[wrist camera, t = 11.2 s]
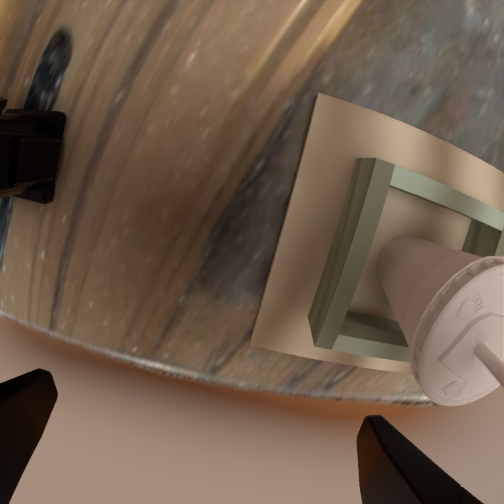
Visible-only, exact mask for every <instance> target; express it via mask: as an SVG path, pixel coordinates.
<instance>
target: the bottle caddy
mask: <svg viewBox="0 0 504 504" xmlns="http://www.w3.org/2000/svg"><path fill="white" fill-rule="evenodd" d="M404 235H407V236H412V237H416V238H419V239H423V240H426V241H430V242H433V243H437V244H440V245H443V246H447V247H450V248H453V249H457V250H460V251H463V252H466V253H470V254H473V255H477V256H480V257H486V256H504V173H503V172H501V171H500V170H498V169H496V168H494V167H493V166H491V165H489V164H487V163H486V162H484V161H482V160H480V159H478V158H477V157H475V156H473V155H471V154H469V153H467V152H465V151H463V150H461V149H459V148H457V147H455V146H453V145H451V144H449V143H447V142H445V141H443V140H441V139H439V138H437V137H435V136H433V135H430V134H428V133H426V132H424V131H422V130H419V129H417V128H415V127H412V126H410V125H408V124H405V123H403V122H400V121H398V120H396V119H393V118H391V117H388V116H385V115H383V114H380V113H378V112H375V111H372V110H369V109H367V108H364V107H361V106H358V105H355V104H352V103H349V102H346V101H343V100H340V99H337V98H334V97H331V96H328V95H324V94H321V93H318V94H317V96H316V99H315V103H314V107H313V110H312V114H311V118H310V122H309V126H308V130H307V134H306V138H305V142H304V145H303V149H302V153H301V157H300V161H299V165H298V168H297V172H296V176H295V180H294V183H293V187H292V191H291V195H290V198H289V202H288V206H287V209H286V213H285V217H284V220H283V224H282V228H281V231H280V235H279V238H278V242H277V246H276V249H275V253H274V256H273V260H272V264H271V267H270V271H269V274H268V278H267V281H266V285H265V288H264V292H263V295H262V299H261V302H260V306H259V309H258V313H257V316H256V320H255V323H254V326H253V330H252V333H251V337H250V344H249V345H250V346H254V347H258V348H263V349H267V350H272V351H277V352H281V353H286V354H291V355H296V356H301V357H306V358H311V359H317V360H322V361H327V362H333V363H339V364H345V365H351V366H357V367H364V368H370V369H377V370H384V371H392V372H400V373H408V374H413V373H412V371H411V368H410V348H409V346H408V344H407V341H406V338H405V336H404V334H403V332H402V329H401V327H400V325H399V322H398V320H397V318H396V316H395V314H394V311H393V309H392V307H391V305H390V303H389V301H388V298H387V296H386V294H385V292H384V290H383V288H382V286H381V284H380V282H379V280H378V277H377V274H376V262H377V258H378V255H379V253H380V251H381V250H382V248H383V247H384V246H385V245H386V244H387V243H388V242H389V241H390V240H392V239H394V238H396V237H399V236H404Z"/></svg>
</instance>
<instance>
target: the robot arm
mask: <svg viewBox="0 0 504 504" xmlns="http://www.w3.org/2000/svg"><path fill="white" fill-rule="evenodd" d="M7 101H8V100H7V99H5V98H3V97H0V198H4V197H8V196H16V197H20V198H23V199H27V200H31V201H35V202H39V203H43V204H48V203H50V202H51V201H52V200H53V194H54V185H55V177H56V172H57V165H58V158H59V152H60V146H61V139H62V134H63V129H64V124H65V114H64V113H63V112H58V111H43V110H23V109H7V110H6V111H5V113H2V110H3V109H5V106H6V103H7ZM58 117H60V119H59V121H57V118H58ZM46 194H47V199H46ZM57 397H58V392H57V389H56V386H55V383H54V380H53V376H52V374H51V373H50V372H49V371H47V370H44V369H40V368H39V369H36V370H33V371H31V372H28V373H25V374H23V375H20V376H18V377H15V378H13V379H10V380H8V381H5V382H3V383H0V504H9V502H10V500H11V498H12V496H13V493H14V491H15V489H16V487H17V485H18V483H19V480H20V478H21V476H22V474H23V472H24V470H25V468H26V466H27V464H28V462H29V460H30V458H31V456H32V454H33V452H34V450H35V448H36V446H37V445H38V443H39V441H40V439H41V437H42V434H43V432H44V429H45V427H46V425H47V422H48V420H49V417H50V415H51V412H52V410H53V408H54V405H55V403H56V400H57ZM357 455H358V469H359V484H360V492H361V497H362V503H363V504H484V503H482V502H481V501H480V500H478V499H477V498H476V497H474V496H473V495H472V494H471V493H470V492H468V491H467V490H466V489H465V488H463V487H461V485H460V484H459V483H457V482H456V481H455V480H454V479H453V478H452V477H450V476H449V475H448V474H447V473H446V472H445V471H443V470H442V469H441V468H440V467H439V466H438V465H437V464H435V463H434V462H433V461H432V460H431V459H430V458H428V457H427V456H426V455H425V454H424V453H423V452H422V451H421V450H419V449H418V448H417V447H416V446H415V445H414V444H413V443H411V442H410V441H409V440H408V439H407V438H406V437H405V436H404V435H402V434H401V433H400V432H399V431H398V430H397V429H396V428H395V427H394V426H392V425H391V424H390V423H389V422H388V421H387V420H386V419H385V418H384V417H382V416H381V415H368V416H366V417H365V418H364V421H363V423H362V425H361V428H360V430H359V433H358V435H357Z"/></svg>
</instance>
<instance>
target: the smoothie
mask: <svg viewBox="0 0 504 504" xmlns="http://www.w3.org/2000/svg"><path fill="white" fill-rule="evenodd" d="M376 274H377V277H378V280H379V282H380V284H381V286H382V288H383V290H384V292H385V294H386V296H387V298H388V301H389V303H390V305H391V307H392V309H393V311H394V314H395V316H396V318H397V320H398V322H399V325H400V327H401V329H402V332H403V334H404V336H405V338H406V341H407V344H408V346H409V348H410V368H411V371H412V373H413V376H414V378H415V381H416V382H417V383H418V384H419V385H420V386H421V388H422V390H423V392H424V393H425V395H426V396H427V397H428V398H429V399H430V400H431V401H433V402H435V403H437V404H439V405H444V406H458V405H464V404H467V403H471V402H473V401H476V400H478V399H480V398H482V397H484V396H485V395H487V394H489V393H490V392H492V391H493V390H494V389H496V388H497V387H498V386H499V385H501V386H502V387H503V388H504V256H486V257H480V256H477V255H473V254H470V253H466V252H463V251H460V250H457V249H453V248H450V247H447V246H443V245H440V244H437V243H433V242H430V241H426V240H423V239H419V238H416V237H412V236H407V235H404V236H399V237H396V238H394V239H392V240H390V241H389V242H388V243H387V244H386V245H385V246H384V247H383V248H382V250H381V251H380V253H379V255H378V258H377V262H376Z"/></svg>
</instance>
